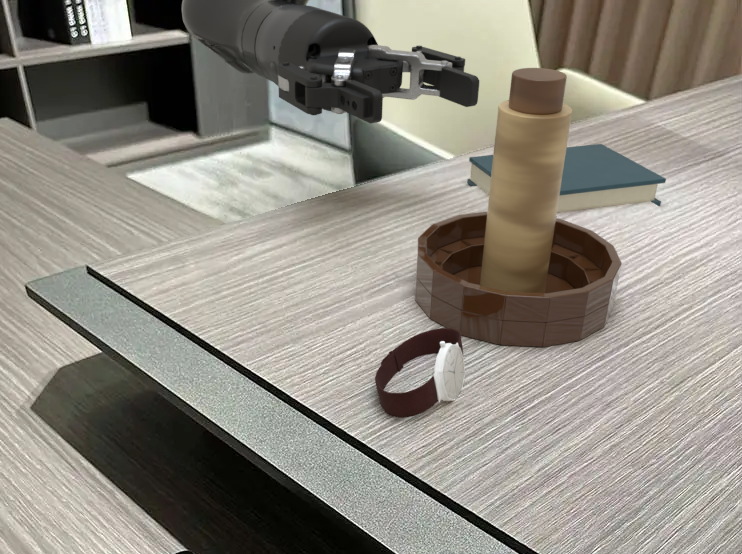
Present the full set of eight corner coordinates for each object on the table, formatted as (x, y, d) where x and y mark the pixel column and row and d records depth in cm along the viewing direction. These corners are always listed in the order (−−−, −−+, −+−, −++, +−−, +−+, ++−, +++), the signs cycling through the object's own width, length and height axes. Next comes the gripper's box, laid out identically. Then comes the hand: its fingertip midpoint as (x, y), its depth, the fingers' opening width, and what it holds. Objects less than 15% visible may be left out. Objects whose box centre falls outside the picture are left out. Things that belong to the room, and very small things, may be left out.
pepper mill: (524, 277, 59) (553, 63, 51) (555, 306, 55) (592, 80, 47) (468, 285, 57) (489, 67, 50) (496, 315, 54) (524, 85, 46)
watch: (433, 439, 43) (438, 382, 41) (354, 414, 45) (355, 359, 43) (480, 368, 49) (486, 315, 47) (408, 348, 51) (411, 297, 49)
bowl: (546, 251, 64) (553, 203, 62) (649, 335, 53) (662, 280, 51) (387, 273, 60) (389, 223, 58) (463, 368, 49) (469, 310, 47)
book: (597, 168, 80) (601, 143, 79) (660, 205, 72) (666, 178, 71) (466, 182, 76) (469, 157, 75) (518, 223, 68) (521, 195, 67)
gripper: (237, 16, 65) (344, 57, 53) (385, 2, 71) (510, 36, 59) (242, 110, 69) (342, 168, 57) (382, 89, 75) (499, 136, 63)
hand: (428, 100), depth 58 cm, fingers open, 8 cm apart
